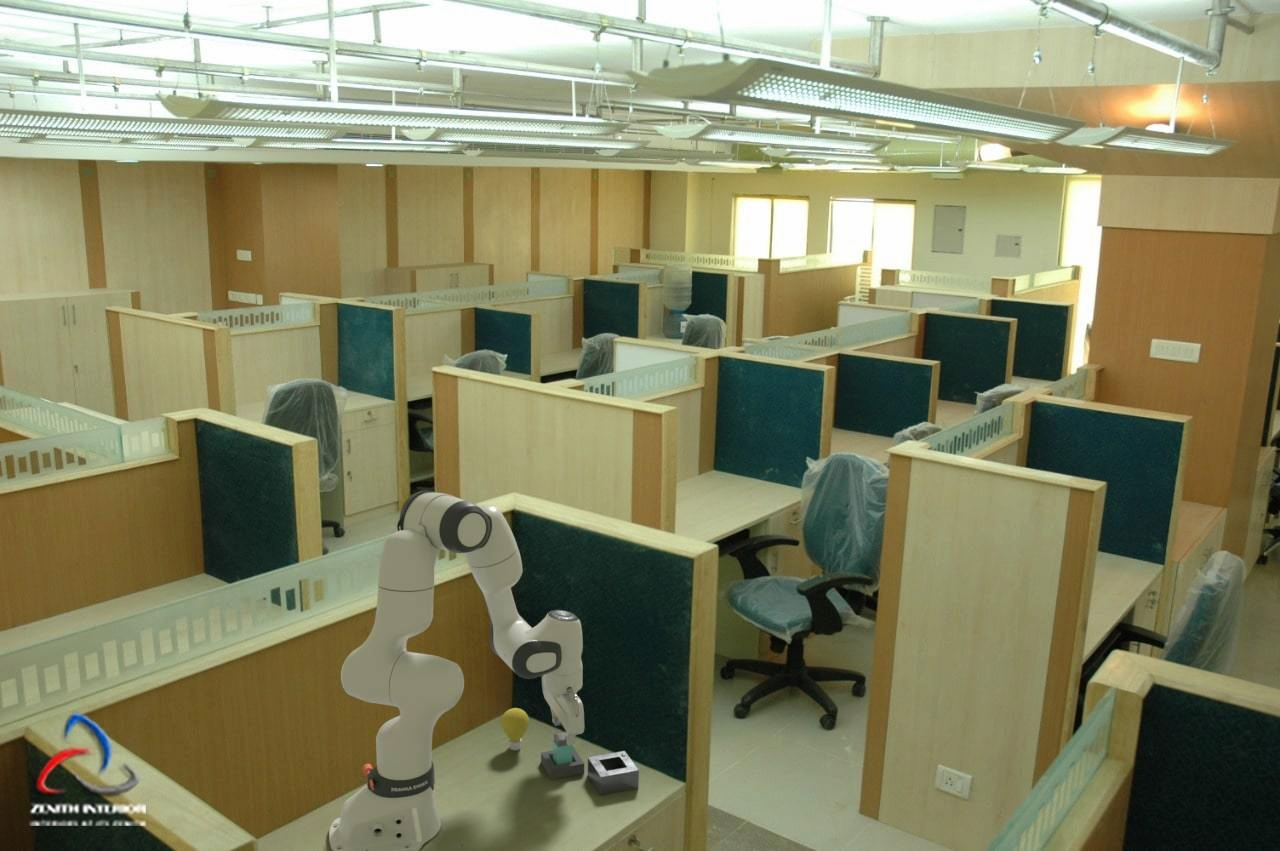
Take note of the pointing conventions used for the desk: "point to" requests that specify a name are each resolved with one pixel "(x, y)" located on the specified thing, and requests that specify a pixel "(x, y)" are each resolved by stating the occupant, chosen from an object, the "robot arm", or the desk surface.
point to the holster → (562, 765)
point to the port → (613, 773)
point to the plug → (561, 750)
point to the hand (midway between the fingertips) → (563, 733)
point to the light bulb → (515, 726)
